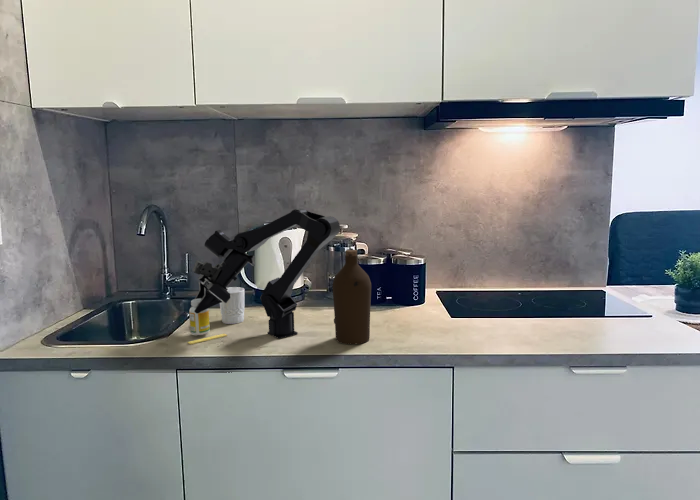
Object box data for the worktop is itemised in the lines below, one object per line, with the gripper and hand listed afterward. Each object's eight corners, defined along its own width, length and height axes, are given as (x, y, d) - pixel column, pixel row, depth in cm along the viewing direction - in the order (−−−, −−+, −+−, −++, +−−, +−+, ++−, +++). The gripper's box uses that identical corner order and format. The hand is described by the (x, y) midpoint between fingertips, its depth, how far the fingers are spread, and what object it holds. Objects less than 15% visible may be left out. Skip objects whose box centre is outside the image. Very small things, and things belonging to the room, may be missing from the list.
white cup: (235, 316, 172) (233, 285, 170) (251, 320, 167) (249, 289, 166) (215, 321, 166) (213, 290, 164) (230, 326, 161) (229, 294, 160)
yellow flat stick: (224, 334, 153) (224, 333, 153) (227, 335, 152) (227, 334, 152) (187, 343, 146) (187, 342, 146) (190, 344, 145) (190, 343, 145)
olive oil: (379, 339, 147) (379, 250, 143) (351, 348, 140) (350, 255, 136) (353, 330, 155) (352, 246, 151) (325, 339, 148) (323, 250, 144)
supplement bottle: (188, 335, 150) (185, 302, 148) (193, 329, 155) (191, 298, 154) (207, 335, 150) (204, 302, 148) (212, 329, 155) (210, 297, 154)
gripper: (203, 246, 159) (167, 286, 156) (215, 255, 142) (175, 300, 139) (231, 269, 163) (196, 309, 161) (246, 280, 147) (208, 324, 144)
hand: (193, 310), depth 151 cm, fingers closed on supplement bottle, 5 cm apart
